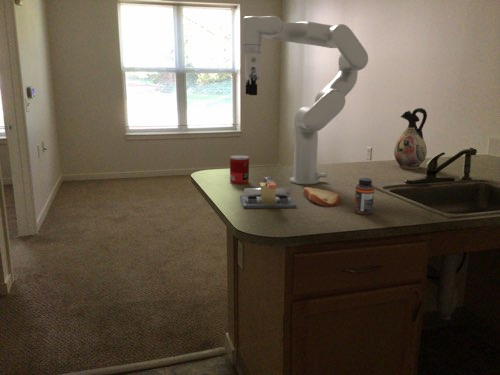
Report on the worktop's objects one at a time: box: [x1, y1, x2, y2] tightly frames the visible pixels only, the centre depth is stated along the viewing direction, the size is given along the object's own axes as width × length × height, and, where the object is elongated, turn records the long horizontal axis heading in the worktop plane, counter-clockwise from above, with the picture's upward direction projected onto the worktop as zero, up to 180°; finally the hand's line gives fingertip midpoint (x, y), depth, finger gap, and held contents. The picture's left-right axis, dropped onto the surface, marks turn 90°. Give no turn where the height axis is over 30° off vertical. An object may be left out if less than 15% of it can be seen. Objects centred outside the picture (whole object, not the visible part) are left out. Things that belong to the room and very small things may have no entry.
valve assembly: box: [239, 182, 297, 209], centre depth 157 cm, size 18×14×8 cm
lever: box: [262, 176, 277, 189], centre depth 151 cm, size 13×3×1 cm, turn 6°
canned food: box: [229, 154, 250, 185], centre depth 186 cm, size 8×8×11 cm
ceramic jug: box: [393, 107, 428, 170], centre depth 221 cm, size 17×15×30 cm
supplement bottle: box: [353, 177, 375, 215], centre depth 146 cm, size 6×6×11 cm
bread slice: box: [302, 186, 342, 208], centre depth 163 cm, size 18×18×4 cm
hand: (251, 94), depth 178 cm, fingers open, 9 cm apart
